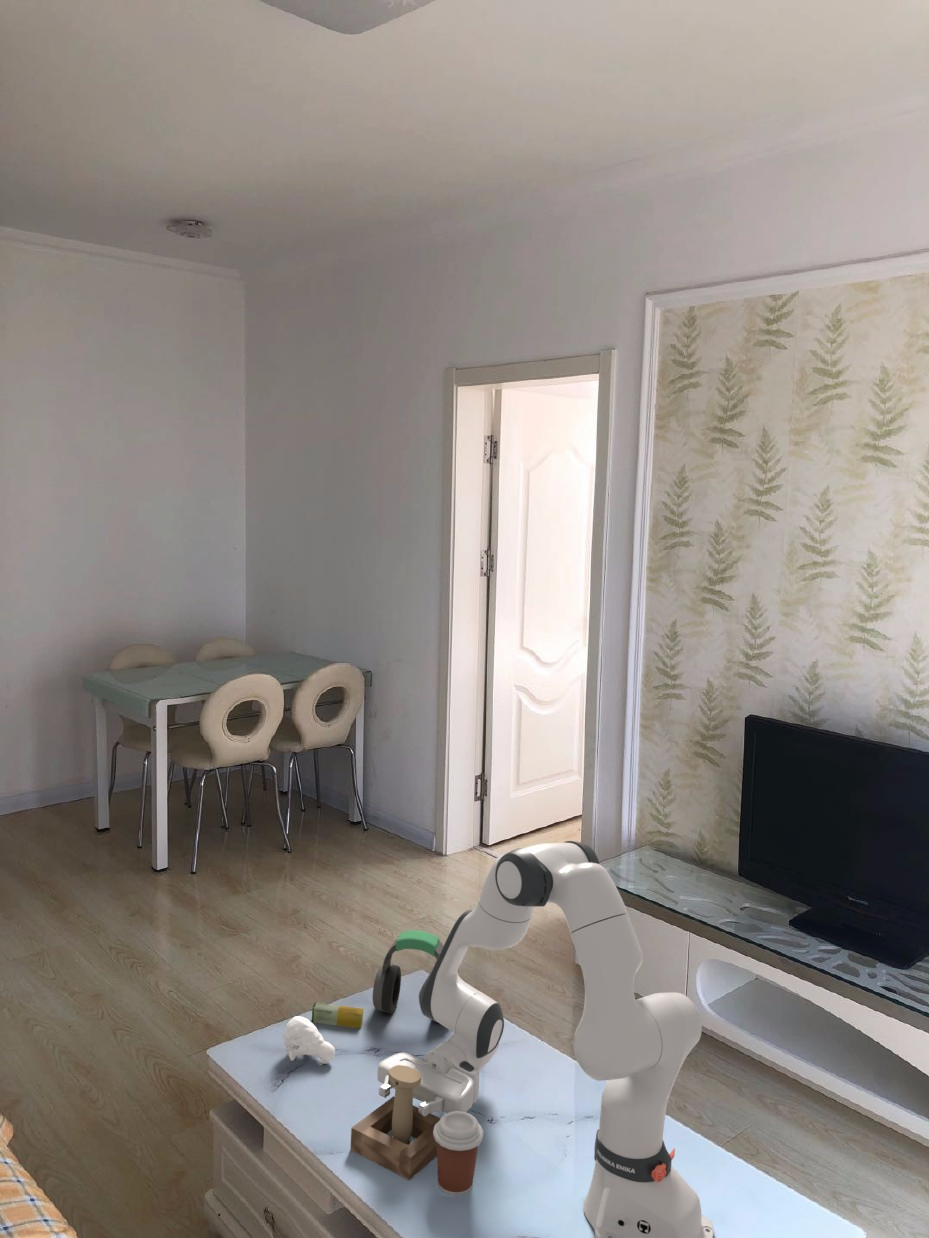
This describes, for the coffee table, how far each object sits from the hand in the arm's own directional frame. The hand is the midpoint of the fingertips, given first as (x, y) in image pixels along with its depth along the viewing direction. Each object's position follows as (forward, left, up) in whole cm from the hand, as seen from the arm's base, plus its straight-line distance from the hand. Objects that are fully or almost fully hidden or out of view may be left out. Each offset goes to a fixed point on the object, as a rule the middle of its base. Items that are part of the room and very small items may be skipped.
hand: (401, 1102), depth 192 cm
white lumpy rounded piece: (+34, -13, -10) cm, 38 cm away
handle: (0, -1, -10) cm, 10 cm away
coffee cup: (-14, +1, -10) cm, 17 cm away
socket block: (0, -1, -9) cm, 10 cm away
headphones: (+28, -43, -10) cm, 52 cm away
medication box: (+39, -28, -10) cm, 49 cm away
